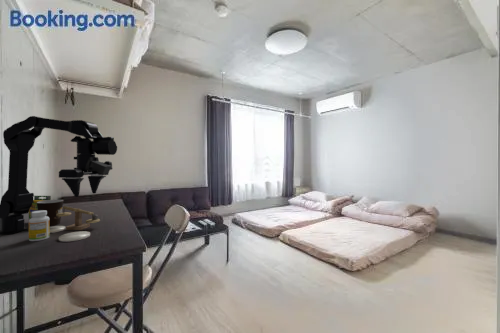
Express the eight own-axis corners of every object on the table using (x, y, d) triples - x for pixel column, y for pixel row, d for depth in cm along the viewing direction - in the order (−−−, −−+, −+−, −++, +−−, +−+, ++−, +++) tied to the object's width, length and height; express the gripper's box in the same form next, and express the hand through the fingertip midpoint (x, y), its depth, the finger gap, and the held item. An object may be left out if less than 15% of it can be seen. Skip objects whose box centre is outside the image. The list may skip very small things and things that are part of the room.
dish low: (51, 241, 77) (51, 239, 77) (72, 233, 86) (72, 231, 86) (78, 241, 77) (78, 239, 77) (95, 233, 86) (95, 231, 86)
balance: (52, 229, 90) (52, 207, 90) (63, 226, 95) (63, 204, 95) (94, 230, 90) (94, 207, 90) (102, 226, 95) (102, 205, 95)
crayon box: (28, 222, 99) (28, 196, 98) (34, 221, 102) (34, 195, 101) (45, 223, 99) (45, 196, 99) (51, 221, 102) (51, 195, 102)
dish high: (36, 233, 86) (36, 230, 86) (52, 227, 93) (52, 225, 93) (55, 233, 86) (55, 231, 86) (69, 227, 93) (69, 226, 93)
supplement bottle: (37, 236, 82) (37, 209, 82) (53, 236, 83) (53, 209, 82) (24, 241, 77) (24, 213, 77) (41, 241, 77) (41, 213, 77)
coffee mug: (47, 228, 92) (47, 203, 92) (31, 226, 94) (31, 202, 93) (75, 220, 103) (75, 199, 103) (59, 219, 105) (59, 198, 105)
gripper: (90, 153, 77) (90, 199, 77) (121, 155, 96) (120, 192, 96) (57, 153, 77) (57, 198, 77) (94, 154, 95) (94, 191, 96)
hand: (85, 195), depth 86 cm, fingers open, 9 cm apart
